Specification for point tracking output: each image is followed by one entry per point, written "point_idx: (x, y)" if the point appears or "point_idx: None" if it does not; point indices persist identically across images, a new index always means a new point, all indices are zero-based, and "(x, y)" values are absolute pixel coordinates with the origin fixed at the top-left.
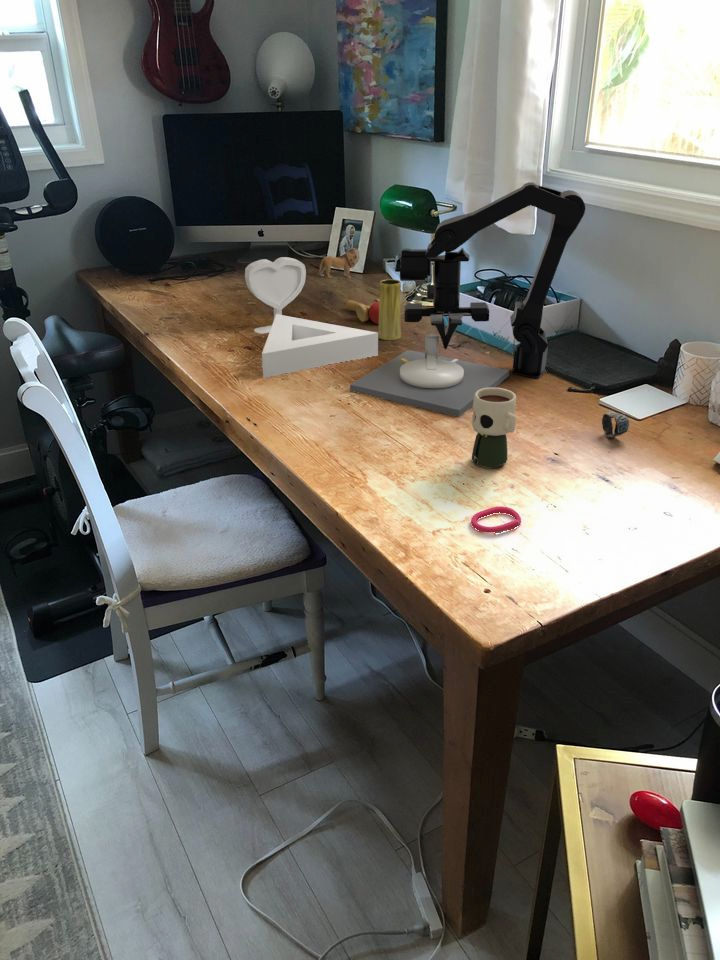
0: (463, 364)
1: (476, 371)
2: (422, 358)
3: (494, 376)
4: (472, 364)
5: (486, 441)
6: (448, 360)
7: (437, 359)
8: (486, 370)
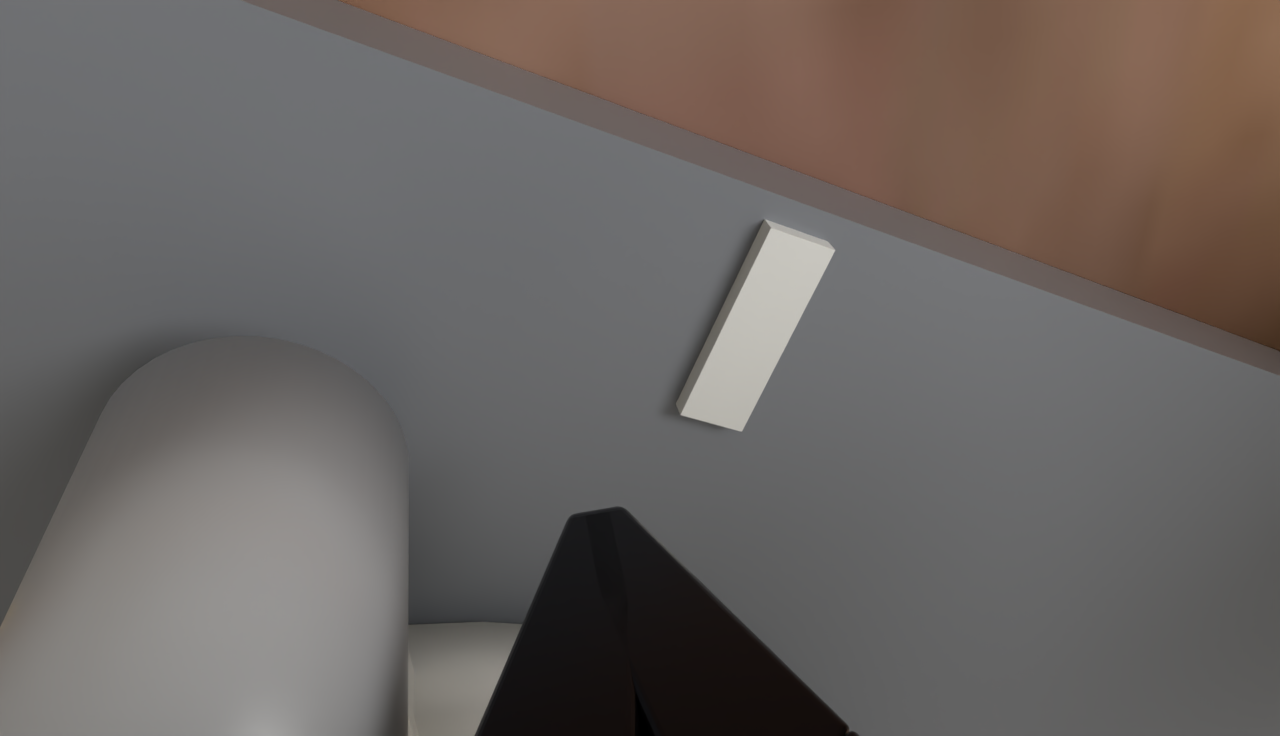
0: (914, 424)
1: (1078, 638)
2: (11, 292)
3: (1274, 721)
4: (1072, 386)
5: None
6: (629, 292)
7: (450, 723)
8: (1232, 570)
